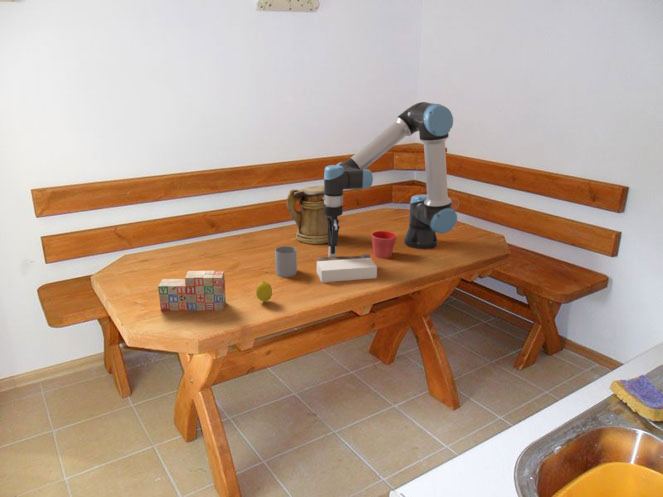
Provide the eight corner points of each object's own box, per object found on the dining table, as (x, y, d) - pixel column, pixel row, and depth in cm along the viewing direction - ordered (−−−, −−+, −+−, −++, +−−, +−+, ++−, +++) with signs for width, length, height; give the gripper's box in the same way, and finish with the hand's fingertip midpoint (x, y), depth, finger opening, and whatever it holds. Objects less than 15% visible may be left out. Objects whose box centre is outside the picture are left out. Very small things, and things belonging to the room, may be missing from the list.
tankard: (342, 241, 250) (343, 189, 241) (295, 248, 240) (294, 194, 232) (325, 230, 265) (325, 181, 257) (281, 237, 256) (279, 185, 247)
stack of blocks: (160, 311, 181) (156, 277, 177) (164, 303, 187) (161, 270, 183) (223, 310, 182) (221, 277, 178) (226, 302, 188) (224, 270, 184)
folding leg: (369, 264, 222) (369, 253, 221) (370, 268, 219) (371, 257, 217) (316, 266, 220) (317, 255, 218) (317, 269, 216) (317, 258, 215)
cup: (293, 278, 209) (293, 254, 205) (273, 276, 210) (272, 252, 207) (298, 270, 217) (298, 247, 213) (279, 268, 218) (278, 245, 215)
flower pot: (397, 253, 237) (398, 232, 233) (391, 261, 227) (393, 239, 224) (374, 250, 240) (375, 229, 236) (367, 258, 230) (368, 237, 227)
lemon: (257, 299, 191) (256, 278, 188) (272, 298, 191) (272, 278, 188) (256, 305, 186) (255, 284, 183) (272, 305, 186) (271, 284, 183)
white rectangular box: (369, 269, 218) (370, 257, 217) (376, 278, 209) (377, 266, 208) (316, 272, 214) (316, 261, 212) (321, 282, 205) (321, 270, 203)
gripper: (321, 200, 218) (320, 254, 226) (327, 209, 206) (326, 266, 214) (338, 200, 219) (337, 253, 227) (346, 208, 207) (344, 265, 215)
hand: (332, 259), depth 221 cm, fingers closed
